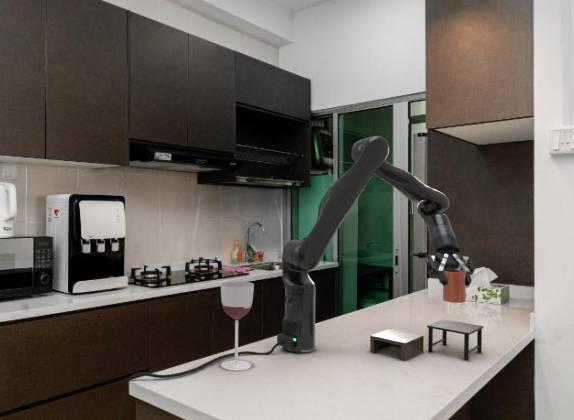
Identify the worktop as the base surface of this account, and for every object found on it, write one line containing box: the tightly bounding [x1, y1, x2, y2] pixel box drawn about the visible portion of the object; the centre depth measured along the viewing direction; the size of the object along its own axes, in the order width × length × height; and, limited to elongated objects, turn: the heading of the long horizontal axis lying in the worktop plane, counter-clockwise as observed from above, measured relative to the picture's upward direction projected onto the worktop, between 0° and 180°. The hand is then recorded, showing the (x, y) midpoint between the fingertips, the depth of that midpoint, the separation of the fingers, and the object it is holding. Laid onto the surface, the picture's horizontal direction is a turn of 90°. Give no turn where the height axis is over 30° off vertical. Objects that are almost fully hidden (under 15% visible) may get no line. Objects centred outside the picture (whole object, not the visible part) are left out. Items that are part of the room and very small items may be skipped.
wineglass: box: [220, 281, 255, 371], centre depth 129 cm, size 9×10×22 cm
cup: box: [442, 269, 467, 304], centre depth 143 cm, size 6×6×9 cm
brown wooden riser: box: [369, 328, 425, 361], centre depth 142 cm, size 12×11×5 cm
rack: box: [426, 318, 484, 362], centre depth 143 cm, size 12×12×8 cm
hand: (456, 284), depth 141 cm, fingers closed on cup, 6 cm apart
